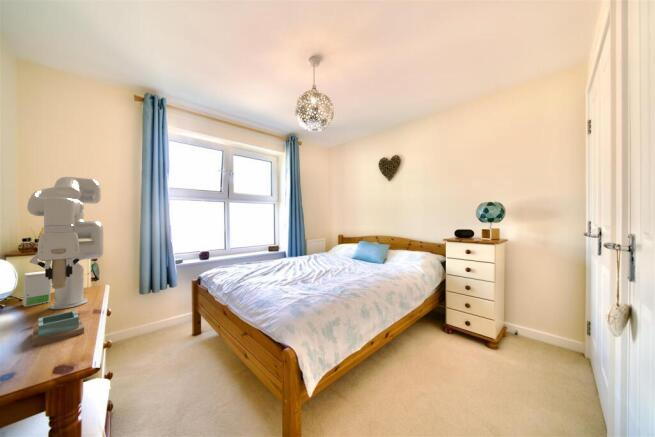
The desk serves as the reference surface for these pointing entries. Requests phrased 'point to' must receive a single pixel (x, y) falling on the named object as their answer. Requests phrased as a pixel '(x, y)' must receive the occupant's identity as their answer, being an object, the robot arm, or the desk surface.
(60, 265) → the handle
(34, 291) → the skincare box
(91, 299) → the desk surface
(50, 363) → the desk surface
